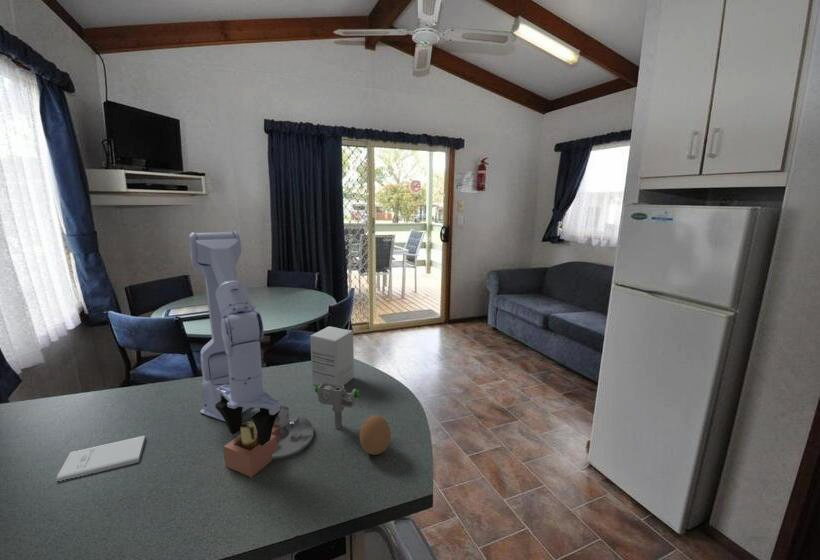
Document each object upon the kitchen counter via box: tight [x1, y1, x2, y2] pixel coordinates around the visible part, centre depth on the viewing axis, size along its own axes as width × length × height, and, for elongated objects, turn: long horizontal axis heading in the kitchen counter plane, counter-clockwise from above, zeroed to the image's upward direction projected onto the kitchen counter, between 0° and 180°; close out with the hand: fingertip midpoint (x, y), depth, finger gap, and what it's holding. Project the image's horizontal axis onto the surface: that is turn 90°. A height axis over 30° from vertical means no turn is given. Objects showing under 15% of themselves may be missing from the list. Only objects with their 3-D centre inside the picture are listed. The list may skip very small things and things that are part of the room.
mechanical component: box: [314, 383, 361, 430], centre depth 85 cm, size 3×10×10 cm, turn 78°
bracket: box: [223, 426, 281, 478], centre depth 75 cm, size 7×10×4 cm
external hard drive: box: [55, 435, 147, 482], centre depth 74 cm, size 2×8×12 cm
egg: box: [359, 414, 392, 456], centre depth 77 cm, size 6×6×8 cm
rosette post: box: [272, 404, 314, 461], centre depth 81 cm, size 14×14×7 cm
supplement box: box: [309, 326, 355, 387], centre depth 106 cm, size 9×9×15 cm
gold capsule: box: [240, 420, 257, 451], centre depth 73 cm, size 3×3×7 cm
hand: (250, 437), depth 73 cm, fingers open, 7 cm apart
